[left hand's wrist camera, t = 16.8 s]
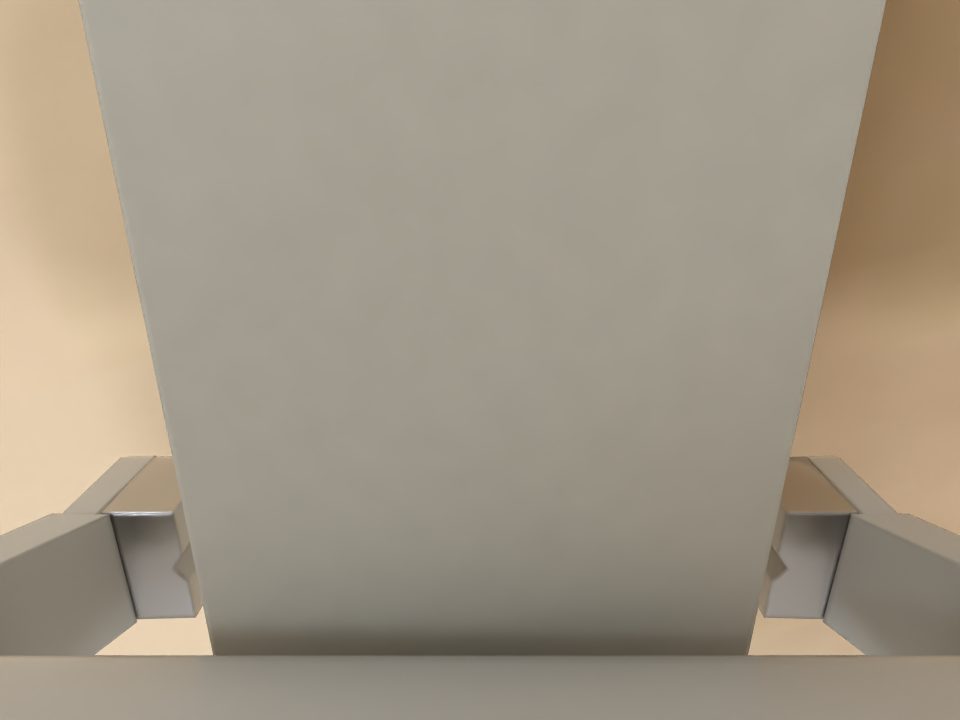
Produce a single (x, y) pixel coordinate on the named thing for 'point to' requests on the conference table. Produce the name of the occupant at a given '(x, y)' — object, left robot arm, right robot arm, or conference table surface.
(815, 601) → the left robot arm
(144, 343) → the conference table surface
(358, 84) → the bar
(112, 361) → the conference table surface
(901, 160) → the conference table surface
